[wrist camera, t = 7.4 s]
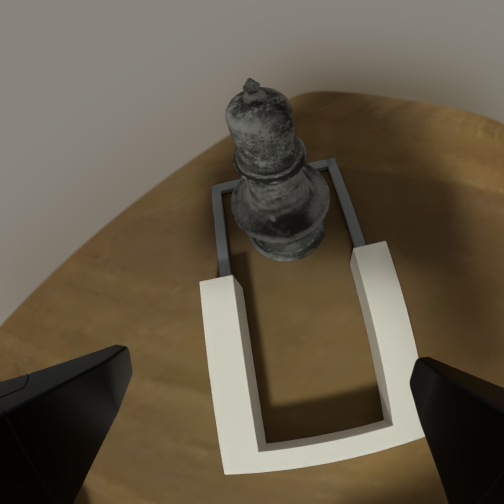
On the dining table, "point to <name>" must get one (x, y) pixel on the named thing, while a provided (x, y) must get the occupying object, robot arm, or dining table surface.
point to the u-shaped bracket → (245, 385)
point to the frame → (229, 187)
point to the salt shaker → (274, 177)
